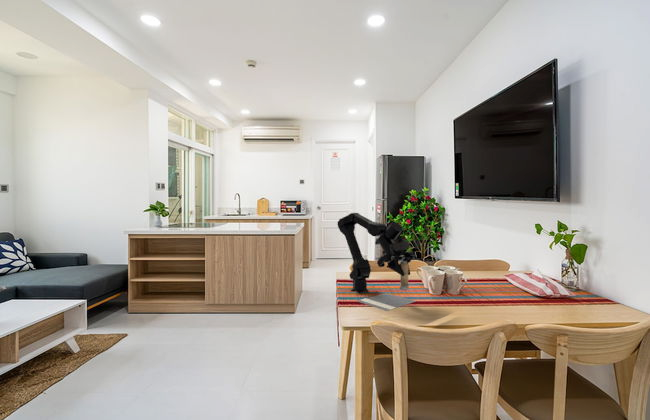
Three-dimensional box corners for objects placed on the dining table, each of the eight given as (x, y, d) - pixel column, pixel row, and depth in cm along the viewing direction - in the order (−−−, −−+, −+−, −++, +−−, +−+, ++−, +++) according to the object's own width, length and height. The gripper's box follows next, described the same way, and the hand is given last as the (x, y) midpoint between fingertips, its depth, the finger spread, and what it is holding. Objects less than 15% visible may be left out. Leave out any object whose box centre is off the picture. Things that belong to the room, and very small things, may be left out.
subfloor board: (356, 303, 145) (356, 300, 145) (385, 295, 158) (385, 292, 158) (386, 313, 132) (386, 310, 132) (416, 303, 145) (416, 300, 145)
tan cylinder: (398, 288, 142) (398, 261, 142) (403, 287, 144) (404, 260, 144) (404, 290, 139) (405, 262, 139) (410, 289, 141) (410, 261, 141)
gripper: (381, 235, 139) (401, 266, 130) (412, 233, 150) (432, 261, 141) (369, 252, 146) (386, 282, 137) (399, 248, 156) (417, 276, 147)
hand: (406, 275), depth 140 cm, fingers closed on tan cylinder, 3 cm apart
